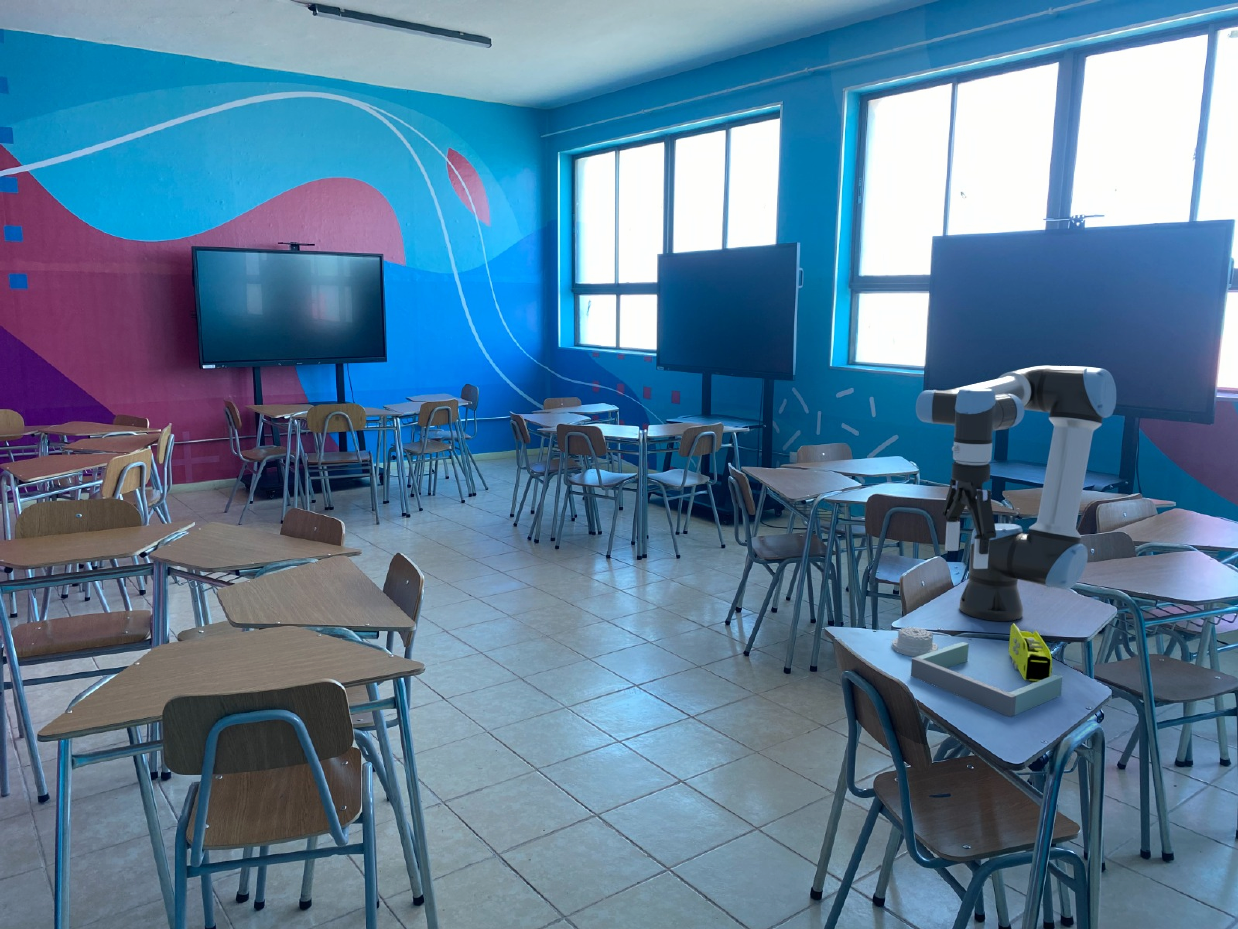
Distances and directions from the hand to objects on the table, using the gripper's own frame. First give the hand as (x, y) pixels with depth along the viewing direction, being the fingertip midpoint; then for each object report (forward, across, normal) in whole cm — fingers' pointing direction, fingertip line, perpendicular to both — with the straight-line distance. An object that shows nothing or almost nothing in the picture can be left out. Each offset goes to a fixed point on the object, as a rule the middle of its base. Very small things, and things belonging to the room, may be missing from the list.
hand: (965, 559), depth 187 cm
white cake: (+25, -10, -6) cm, 27 cm away
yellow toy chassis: (+25, +3, +14) cm, 29 cm away
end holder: (+24, +10, +1) cm, 26 cm away
